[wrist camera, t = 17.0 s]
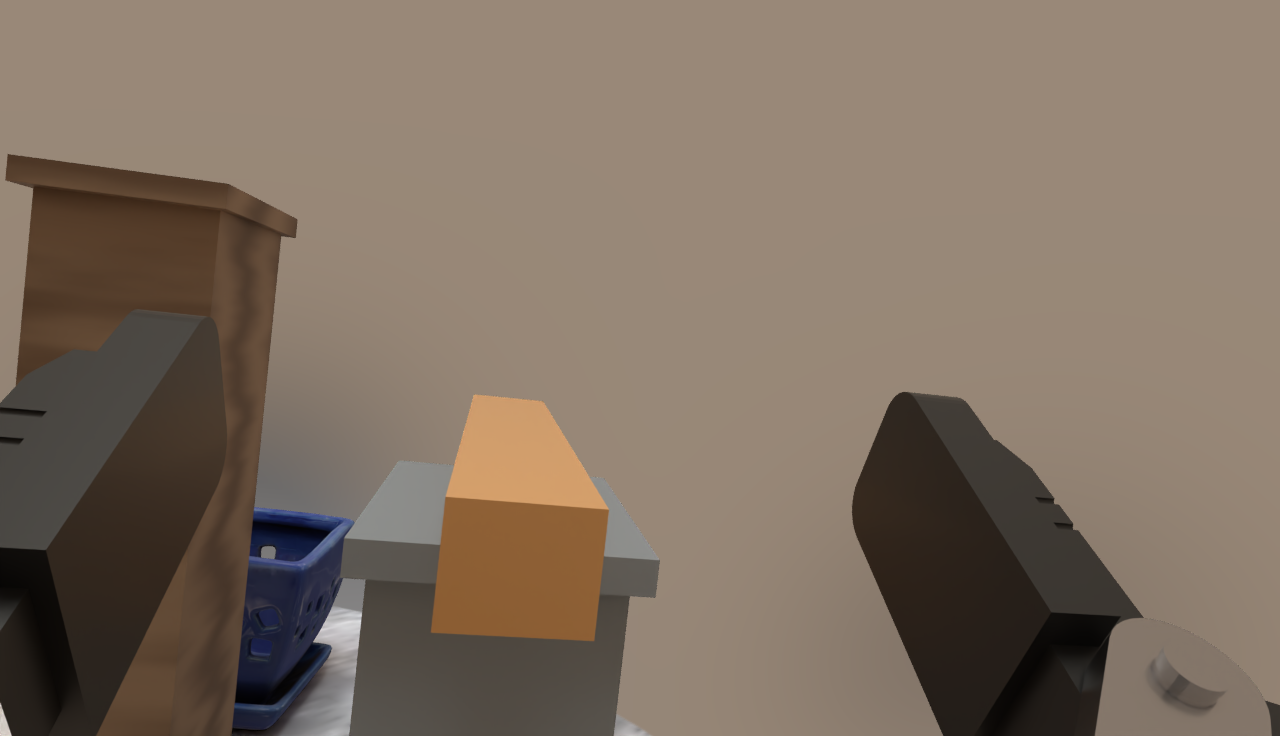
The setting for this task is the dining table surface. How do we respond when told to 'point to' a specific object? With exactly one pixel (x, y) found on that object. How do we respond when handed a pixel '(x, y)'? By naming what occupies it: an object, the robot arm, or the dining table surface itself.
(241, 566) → the tall stand
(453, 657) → the grey tall block
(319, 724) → the dining table surface
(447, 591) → the orange rectangular block
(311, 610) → the flower pot
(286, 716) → the dining table surface
